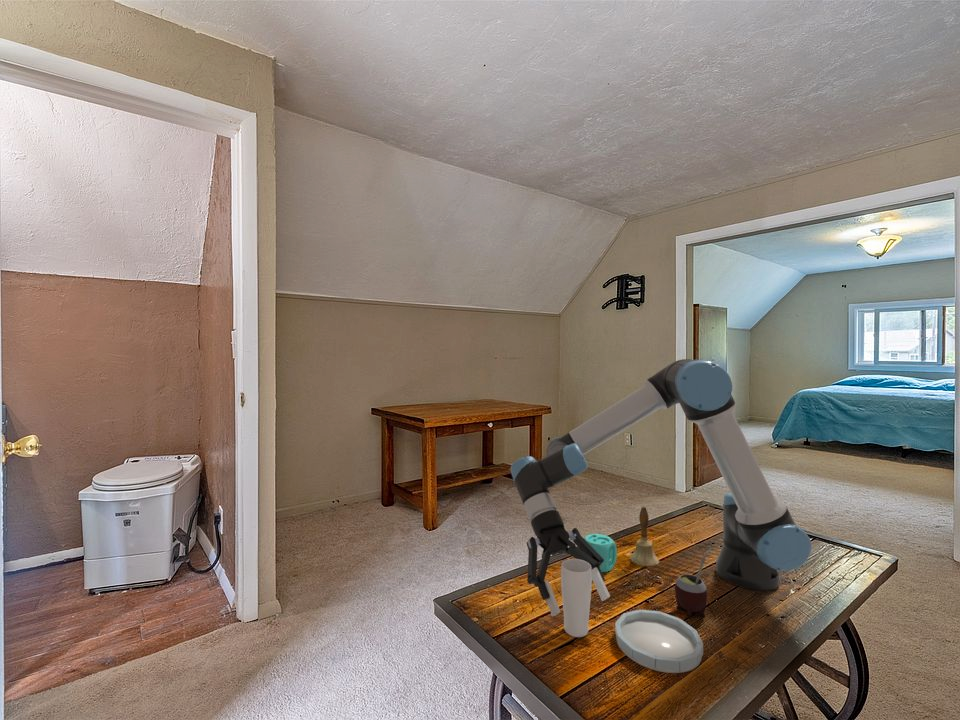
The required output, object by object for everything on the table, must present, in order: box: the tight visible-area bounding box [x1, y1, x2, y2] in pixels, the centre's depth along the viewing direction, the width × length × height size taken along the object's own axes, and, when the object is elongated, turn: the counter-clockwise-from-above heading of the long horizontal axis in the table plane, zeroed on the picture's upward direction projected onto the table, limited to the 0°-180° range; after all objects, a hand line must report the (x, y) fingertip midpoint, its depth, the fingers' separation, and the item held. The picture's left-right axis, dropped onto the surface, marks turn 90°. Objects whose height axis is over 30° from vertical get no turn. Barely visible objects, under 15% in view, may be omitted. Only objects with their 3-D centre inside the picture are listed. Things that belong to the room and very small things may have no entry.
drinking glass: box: [560, 558, 593, 638], centre depth 101 cm, size 7×7×15 cm
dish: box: [614, 609, 704, 674], centre depth 97 cm, size 17×17×2 cm
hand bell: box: [629, 506, 660, 568], centre depth 135 cm, size 8×8×16 cm
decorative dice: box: [583, 533, 618, 573], centre depth 132 cm, size 8×8×8 cm
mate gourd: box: [674, 547, 713, 620], centre depth 109 cm, size 8×8×15 cm
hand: (582, 606), depth 99 cm, fingers open, 13 cm apart
